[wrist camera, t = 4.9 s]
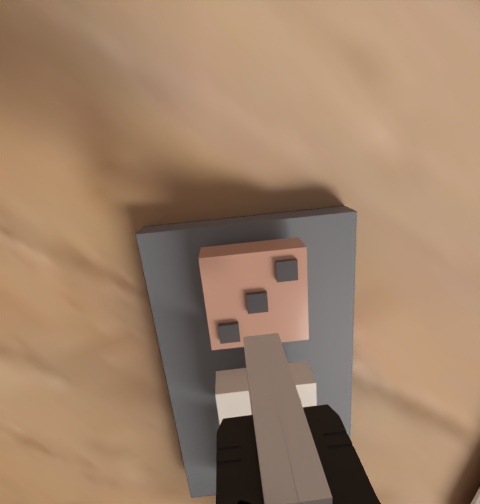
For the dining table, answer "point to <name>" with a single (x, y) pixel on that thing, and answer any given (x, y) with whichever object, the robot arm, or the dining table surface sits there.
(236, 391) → the tile two
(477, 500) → the plate
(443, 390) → the dining table surface
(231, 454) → the robot arm
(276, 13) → the dining table surface
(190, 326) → the board
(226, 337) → the tile three
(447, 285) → the dining table surface
